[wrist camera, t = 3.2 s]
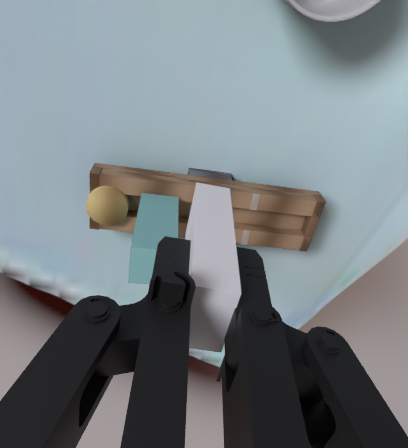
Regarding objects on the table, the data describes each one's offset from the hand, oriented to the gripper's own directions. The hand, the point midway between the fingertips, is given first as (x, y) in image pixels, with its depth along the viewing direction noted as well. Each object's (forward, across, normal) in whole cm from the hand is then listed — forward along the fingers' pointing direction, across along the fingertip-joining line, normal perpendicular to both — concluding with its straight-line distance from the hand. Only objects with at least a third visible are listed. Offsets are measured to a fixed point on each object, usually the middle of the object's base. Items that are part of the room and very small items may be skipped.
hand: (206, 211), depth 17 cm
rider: (+23, -3, -14) cm, 26 cm away
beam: (+26, +2, -14) cm, 29 cm away
